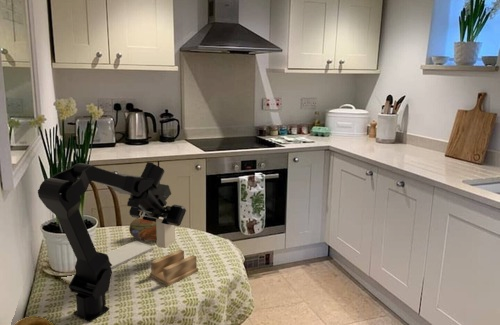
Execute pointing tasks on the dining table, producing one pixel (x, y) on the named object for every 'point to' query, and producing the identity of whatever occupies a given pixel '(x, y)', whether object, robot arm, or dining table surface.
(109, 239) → the dining table surface
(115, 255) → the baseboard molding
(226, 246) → the dining table surface
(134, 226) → the tin
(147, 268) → the dining table surface
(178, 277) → the wooden slotted stand
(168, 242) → the off-white rectangular block
